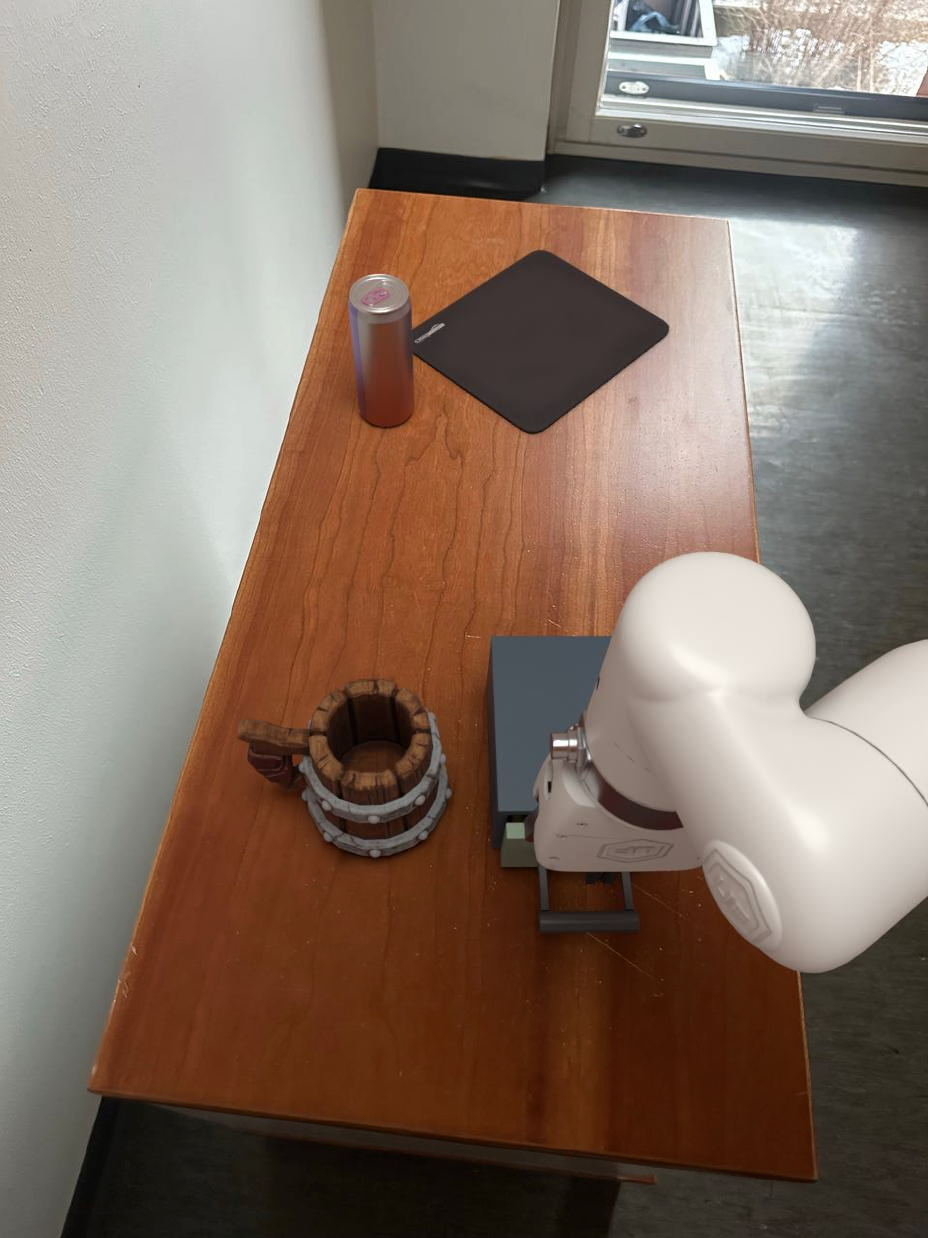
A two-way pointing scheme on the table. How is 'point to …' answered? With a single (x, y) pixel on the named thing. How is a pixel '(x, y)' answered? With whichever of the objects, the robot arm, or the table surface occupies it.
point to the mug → (360, 766)
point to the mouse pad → (536, 339)
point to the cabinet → (532, 711)
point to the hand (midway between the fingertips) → (596, 861)
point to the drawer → (549, 922)
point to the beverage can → (382, 348)
